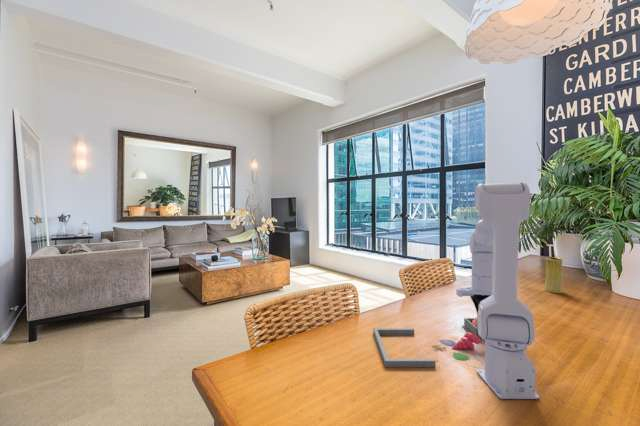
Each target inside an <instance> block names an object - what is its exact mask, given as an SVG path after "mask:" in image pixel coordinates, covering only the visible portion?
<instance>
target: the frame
mask: <svg viewBox="0 0 640 426" xmlns="http://www.w3.org/2000/svg"><path fill="white" fill-rule="evenodd" d="M372 329H373V330H372V331H373V336H374V339H375V342H376V344H377V348H378V350H379V353H380V356H381V358H382V361H383V365H384V366H385V368H436V367H437V366H436V361H437V360H436V359H435V358H389V356H388V354H387V350H386V349H385V346H384V342H383V341H382V338H381V336H382V335H384V336H385V335H389V336H390V335H401V336H402V335H403V336H404V335H405V336H406V335H411V336H412V335H415V328H413V327H399V328H398V327H391V328H390V327H388V328H387V327H383V328H382V327H376V328H374V327H373V328H372ZM380 335H381V336H380Z"/></svg>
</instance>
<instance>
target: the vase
mask: <svg viewBox="0 0 640 426" xmlns="http://www.w3.org/2000/svg"><path fill="white" fill-rule="evenodd" d="M544 291H546V292H548V293H552V294H563V292H564V291H563V258H560V257H552V256H551V257H548V256H547V257H546V259H545V281H544Z"/></svg>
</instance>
